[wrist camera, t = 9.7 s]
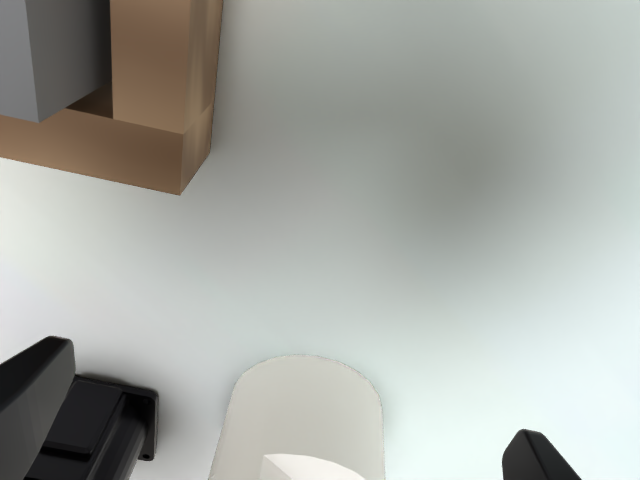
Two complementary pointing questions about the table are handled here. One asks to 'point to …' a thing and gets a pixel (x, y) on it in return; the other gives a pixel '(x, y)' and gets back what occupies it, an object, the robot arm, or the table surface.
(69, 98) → the grey upright block
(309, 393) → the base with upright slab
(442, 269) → the table surface
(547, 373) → the table surface
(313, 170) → the table surface
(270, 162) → the table surface
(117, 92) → the socket board
